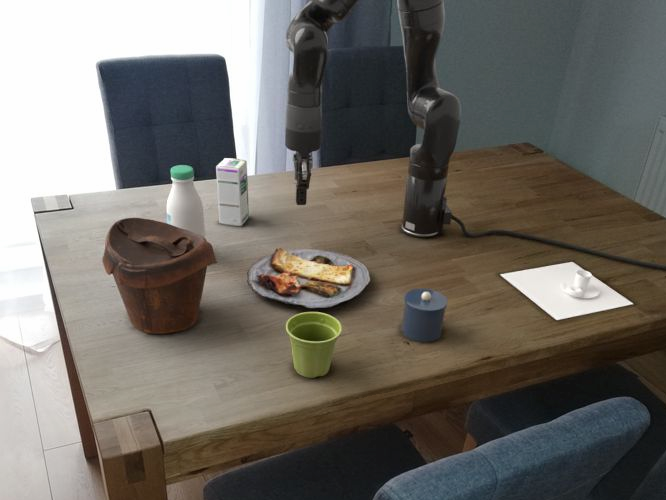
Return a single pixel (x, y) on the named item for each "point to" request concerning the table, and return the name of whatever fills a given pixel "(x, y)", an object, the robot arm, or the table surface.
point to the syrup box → (232, 191)
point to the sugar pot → (423, 314)
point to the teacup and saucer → (565, 290)
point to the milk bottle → (185, 202)
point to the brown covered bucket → (158, 272)
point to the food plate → (308, 277)
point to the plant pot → (313, 342)
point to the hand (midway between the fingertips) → (300, 203)
